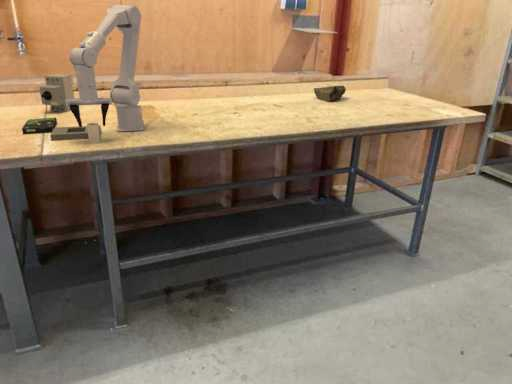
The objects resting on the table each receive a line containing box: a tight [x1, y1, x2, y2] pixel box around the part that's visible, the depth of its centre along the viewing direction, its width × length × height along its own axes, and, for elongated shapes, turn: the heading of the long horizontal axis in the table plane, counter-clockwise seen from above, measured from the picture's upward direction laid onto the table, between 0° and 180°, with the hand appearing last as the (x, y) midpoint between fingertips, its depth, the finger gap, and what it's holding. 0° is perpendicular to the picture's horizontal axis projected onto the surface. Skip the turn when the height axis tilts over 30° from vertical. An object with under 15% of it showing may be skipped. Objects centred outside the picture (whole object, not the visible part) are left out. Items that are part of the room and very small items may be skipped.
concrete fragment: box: [313, 85, 346, 103], centre depth 219 cm, size 15×10×15 cm
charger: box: [86, 122, 101, 144], centre depth 144 cm, size 3×3×6 cm
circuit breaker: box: [38, 73, 77, 113], centre depth 182 cm, size 8×14×15 cm, turn 166°
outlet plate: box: [50, 124, 102, 142], centre depth 151 cm, size 16×10×2 cm, turn 106°
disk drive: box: [21, 117, 58, 135], centre depth 159 cm, size 10×3×15 cm
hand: (92, 125), depth 143 cm, fingers open, 7 cm apart
